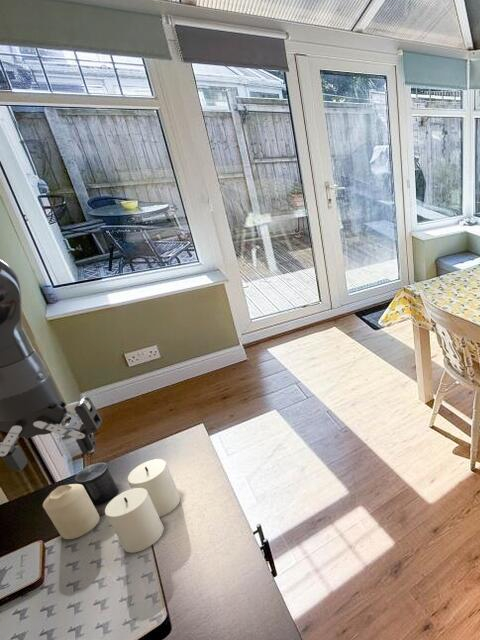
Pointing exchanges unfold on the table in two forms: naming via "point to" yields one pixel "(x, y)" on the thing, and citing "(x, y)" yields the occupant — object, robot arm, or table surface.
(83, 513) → the candle
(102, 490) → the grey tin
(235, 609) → the table surface
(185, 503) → the table surface
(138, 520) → the candle
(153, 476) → the candle
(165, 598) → the table surface
